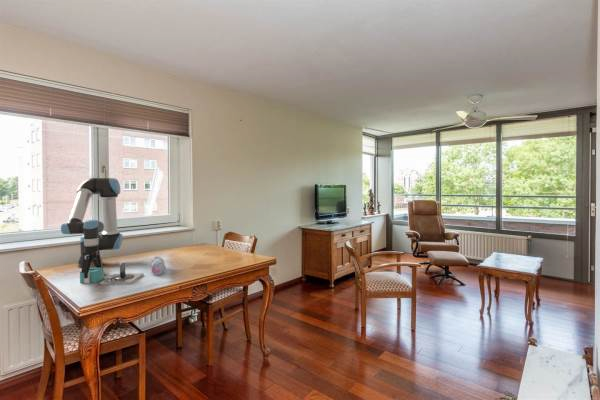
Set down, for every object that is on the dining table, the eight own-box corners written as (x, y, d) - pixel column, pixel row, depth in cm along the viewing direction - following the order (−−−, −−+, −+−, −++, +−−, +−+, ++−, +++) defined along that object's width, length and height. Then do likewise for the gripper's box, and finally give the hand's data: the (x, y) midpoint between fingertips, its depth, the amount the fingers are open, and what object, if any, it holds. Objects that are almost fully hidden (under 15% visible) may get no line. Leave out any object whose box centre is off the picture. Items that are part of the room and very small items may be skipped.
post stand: (114, 276, 201) (114, 260, 201) (143, 275, 204) (143, 259, 203) (99, 284, 184) (99, 267, 183) (131, 283, 186) (131, 266, 185)
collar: (88, 278, 195) (88, 267, 195) (103, 278, 196) (103, 267, 196) (80, 283, 187) (79, 271, 186) (96, 282, 188) (95, 271, 187)
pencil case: (150, 269, 219) (150, 256, 218) (164, 267, 223) (164, 254, 222) (151, 277, 200) (151, 262, 200) (165, 275, 204) (165, 261, 203)
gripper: (87, 248, 179) (88, 286, 180) (107, 241, 202) (108, 274, 203) (73, 248, 179) (74, 286, 180) (95, 241, 202) (95, 275, 203)
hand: (92, 280), depth 191 cm, fingers open, 11 cm apart
